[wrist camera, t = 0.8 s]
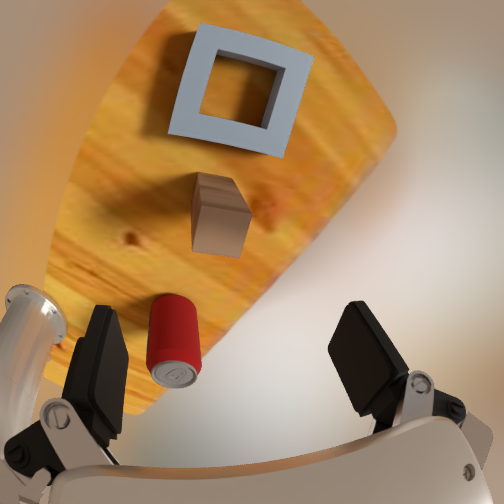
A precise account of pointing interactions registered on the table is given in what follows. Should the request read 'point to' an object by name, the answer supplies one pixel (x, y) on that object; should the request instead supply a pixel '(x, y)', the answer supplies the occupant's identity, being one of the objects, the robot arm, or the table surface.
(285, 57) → the grey square frame
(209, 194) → the walnut peg
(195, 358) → the beverage can
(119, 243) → the table surface
